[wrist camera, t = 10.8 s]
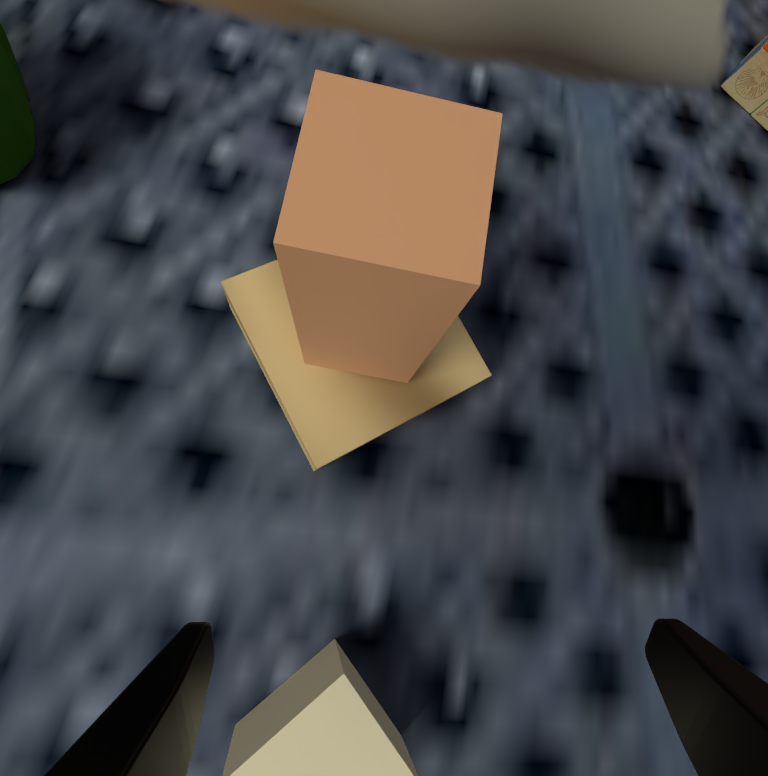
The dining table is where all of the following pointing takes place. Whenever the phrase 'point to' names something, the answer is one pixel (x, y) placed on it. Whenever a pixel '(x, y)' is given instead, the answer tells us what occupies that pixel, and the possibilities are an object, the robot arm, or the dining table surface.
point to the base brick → (340, 374)
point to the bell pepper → (13, 116)
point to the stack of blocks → (751, 83)
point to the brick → (319, 727)
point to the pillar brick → (383, 223)
